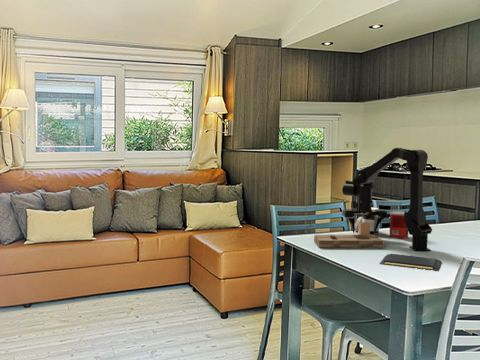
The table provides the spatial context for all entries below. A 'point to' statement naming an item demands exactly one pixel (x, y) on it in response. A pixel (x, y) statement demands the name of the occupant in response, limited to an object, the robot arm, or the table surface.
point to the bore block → (348, 241)
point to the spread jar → (367, 219)
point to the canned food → (398, 225)
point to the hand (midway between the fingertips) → (363, 232)
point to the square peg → (363, 228)
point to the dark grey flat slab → (412, 262)
